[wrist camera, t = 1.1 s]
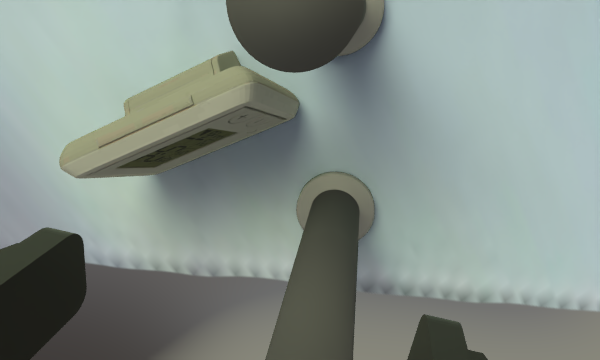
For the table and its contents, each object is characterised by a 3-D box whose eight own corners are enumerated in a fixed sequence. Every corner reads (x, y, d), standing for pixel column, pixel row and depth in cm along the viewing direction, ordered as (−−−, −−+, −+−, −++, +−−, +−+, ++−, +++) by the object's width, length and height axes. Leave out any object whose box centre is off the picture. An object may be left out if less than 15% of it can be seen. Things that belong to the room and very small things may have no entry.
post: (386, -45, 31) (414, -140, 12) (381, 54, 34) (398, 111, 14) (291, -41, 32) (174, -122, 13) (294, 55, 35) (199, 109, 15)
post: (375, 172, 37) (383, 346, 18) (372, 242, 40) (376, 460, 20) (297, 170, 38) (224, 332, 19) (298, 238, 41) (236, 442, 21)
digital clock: (147, 172, 41) (76, 222, 31) (113, 78, 38) (23, 101, 28) (311, 143, 37) (290, 190, 27) (287, 37, 34) (255, 48, 24)
